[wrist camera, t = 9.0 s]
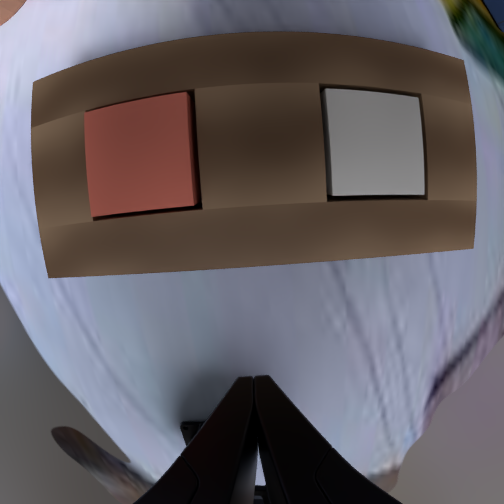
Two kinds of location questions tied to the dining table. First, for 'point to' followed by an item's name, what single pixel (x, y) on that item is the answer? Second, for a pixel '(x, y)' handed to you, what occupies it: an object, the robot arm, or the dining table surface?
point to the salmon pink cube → (142, 155)
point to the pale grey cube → (372, 143)
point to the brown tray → (254, 156)
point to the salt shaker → (9, 9)
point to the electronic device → (496, 11)
